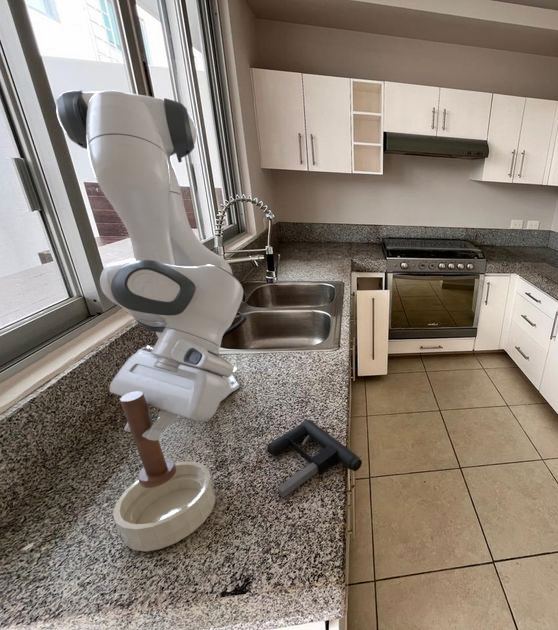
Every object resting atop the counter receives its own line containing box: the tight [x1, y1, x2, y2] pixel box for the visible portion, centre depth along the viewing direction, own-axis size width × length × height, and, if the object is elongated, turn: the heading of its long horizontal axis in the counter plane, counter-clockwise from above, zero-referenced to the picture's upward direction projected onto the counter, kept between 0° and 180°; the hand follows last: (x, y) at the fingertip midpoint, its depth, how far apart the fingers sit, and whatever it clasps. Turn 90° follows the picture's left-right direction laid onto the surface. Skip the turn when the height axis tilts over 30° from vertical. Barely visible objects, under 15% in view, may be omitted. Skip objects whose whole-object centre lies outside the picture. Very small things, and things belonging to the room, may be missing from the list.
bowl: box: [112, 460, 217, 552], centre depth 60 cm, size 14×14×6 cm
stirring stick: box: [119, 391, 176, 488], centre depth 55 cm, size 5×5×16 cm
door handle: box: [266, 419, 363, 499], centre depth 73 cm, size 3×20×16 cm
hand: (140, 435), depth 54 cm, fingers closed on stirring stick, 3 cm apart
